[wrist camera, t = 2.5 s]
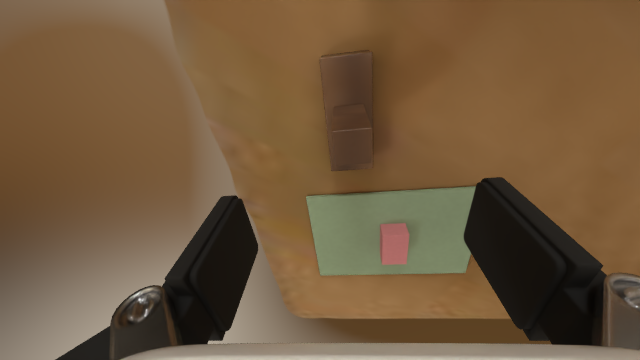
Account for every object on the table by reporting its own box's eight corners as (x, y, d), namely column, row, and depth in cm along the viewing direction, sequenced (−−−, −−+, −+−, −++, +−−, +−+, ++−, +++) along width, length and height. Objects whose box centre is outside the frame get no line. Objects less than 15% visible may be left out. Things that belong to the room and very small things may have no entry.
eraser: (379, 252, 32) (381, 264, 30) (380, 224, 29) (382, 235, 28) (403, 251, 32) (406, 264, 30) (405, 222, 29) (409, 234, 27)
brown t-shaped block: (332, 159, 26) (329, 209, 19) (321, 55, 21) (311, 68, 13) (370, 157, 25) (382, 207, 18) (368, 49, 20) (385, 59, 13)
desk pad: (488, 185, 26) (490, 187, 26) (464, 270, 33) (465, 273, 33) (306, 195, 28) (306, 197, 28) (320, 273, 36) (320, 275, 35)
